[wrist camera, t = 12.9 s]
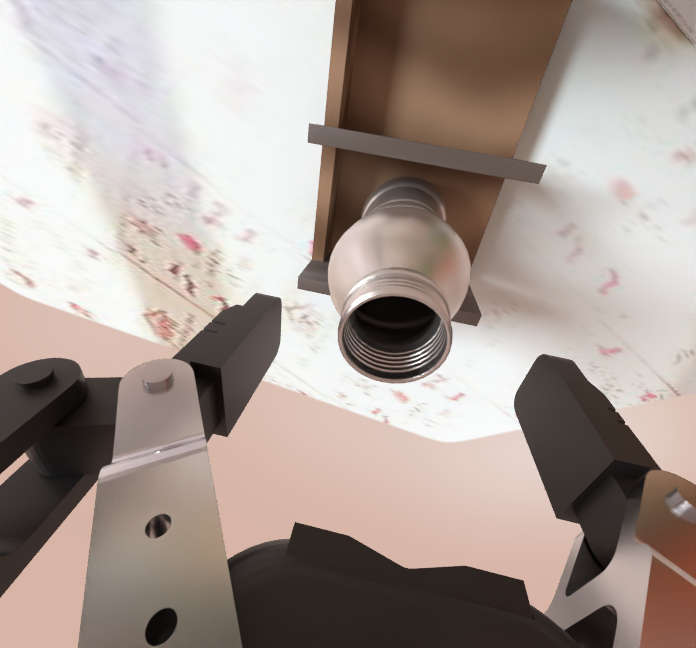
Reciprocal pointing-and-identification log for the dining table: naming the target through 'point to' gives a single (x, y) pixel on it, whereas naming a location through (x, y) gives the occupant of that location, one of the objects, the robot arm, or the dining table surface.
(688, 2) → the tea box
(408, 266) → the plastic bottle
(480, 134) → the wooden shelf rack
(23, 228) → the dining table surface
